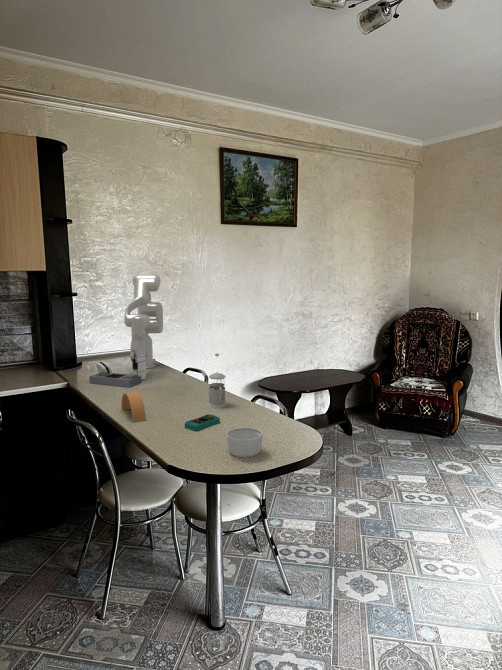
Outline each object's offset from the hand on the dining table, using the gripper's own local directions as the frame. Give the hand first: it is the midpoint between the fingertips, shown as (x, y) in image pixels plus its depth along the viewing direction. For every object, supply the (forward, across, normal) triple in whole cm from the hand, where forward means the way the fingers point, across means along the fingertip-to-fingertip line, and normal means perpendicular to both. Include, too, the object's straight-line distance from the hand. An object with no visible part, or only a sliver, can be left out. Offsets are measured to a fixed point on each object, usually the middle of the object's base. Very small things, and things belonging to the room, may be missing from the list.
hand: (139, 367), depth 273 cm
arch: (+7, +58, +33) cm, 67 cm away
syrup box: (+7, 0, 0) cm, 7 cm away
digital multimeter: (+7, +60, +68) cm, 91 cm away
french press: (+7, +29, +62) cm, 69 cm away
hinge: (+8, 0, -23) cm, 24 cm away
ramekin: (+6, +80, +94) cm, 124 cm away
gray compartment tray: (+7, +12, -8) cm, 16 cm away
